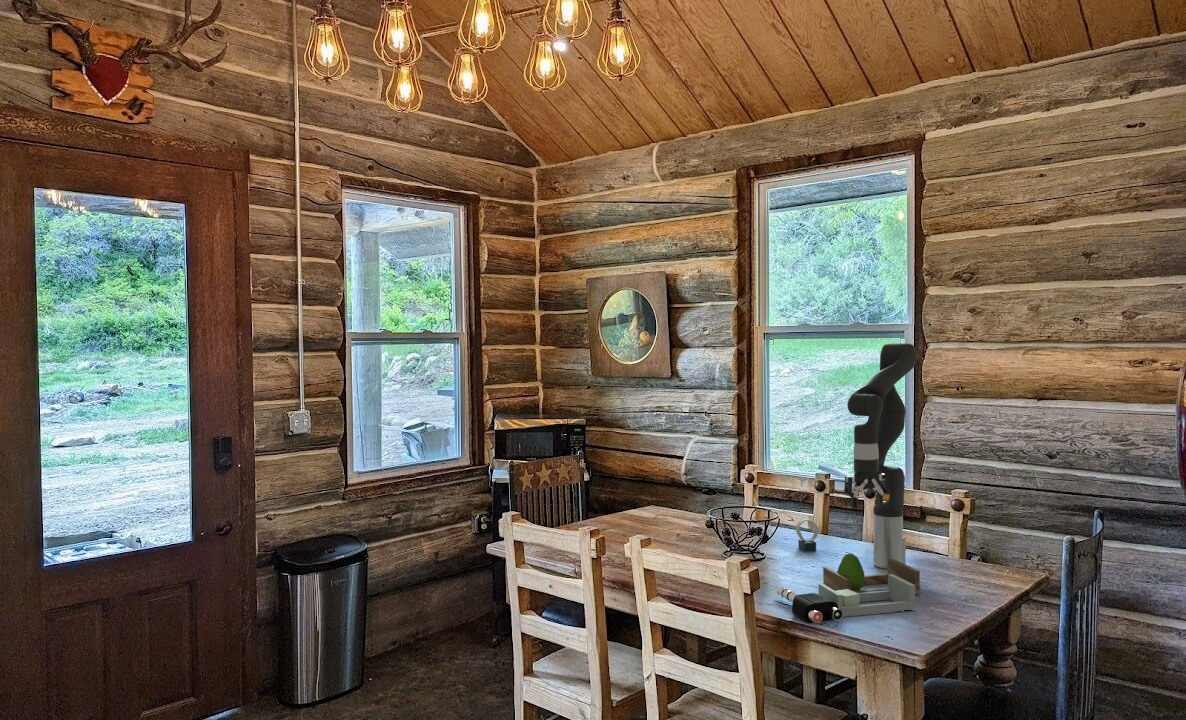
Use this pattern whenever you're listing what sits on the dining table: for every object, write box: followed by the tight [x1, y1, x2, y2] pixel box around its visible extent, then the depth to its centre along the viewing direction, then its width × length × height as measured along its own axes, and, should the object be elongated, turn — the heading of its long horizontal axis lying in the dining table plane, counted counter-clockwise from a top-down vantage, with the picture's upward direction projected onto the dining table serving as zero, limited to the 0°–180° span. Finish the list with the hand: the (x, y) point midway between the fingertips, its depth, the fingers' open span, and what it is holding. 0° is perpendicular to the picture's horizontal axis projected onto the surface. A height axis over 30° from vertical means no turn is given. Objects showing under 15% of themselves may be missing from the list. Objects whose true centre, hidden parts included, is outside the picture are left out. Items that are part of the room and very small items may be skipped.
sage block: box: [836, 589, 861, 607], centre depth 228 cm, size 5×5×5 cm
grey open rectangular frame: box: [818, 574, 916, 618], centre depth 229 cm, size 24×11×7 cm, turn 102°
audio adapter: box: [776, 585, 843, 624], centre depth 228 cm, size 11×5×25 cm
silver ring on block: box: [795, 518, 820, 553], centre depth 293 cm, size 6×8×11 cm
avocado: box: [836, 552, 865, 591], centre depth 242 cm, size 8×8×12 cm
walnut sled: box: [822, 559, 921, 595], centre depth 244 cm, size 24×14×7 cm, turn 102°
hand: (866, 507), depth 257 cm, fingers open, 8 cm apart
